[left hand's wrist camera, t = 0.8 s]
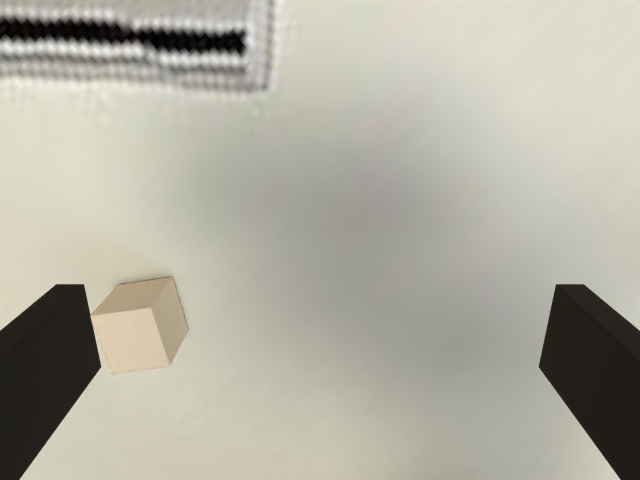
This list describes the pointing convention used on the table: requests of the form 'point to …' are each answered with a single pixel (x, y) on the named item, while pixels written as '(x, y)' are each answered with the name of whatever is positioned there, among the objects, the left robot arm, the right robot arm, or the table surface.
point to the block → (140, 325)
